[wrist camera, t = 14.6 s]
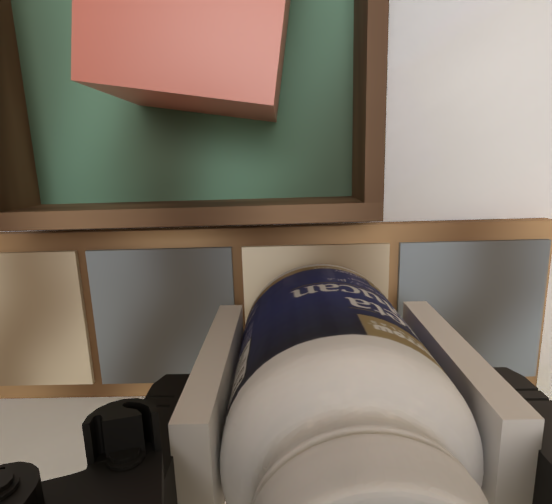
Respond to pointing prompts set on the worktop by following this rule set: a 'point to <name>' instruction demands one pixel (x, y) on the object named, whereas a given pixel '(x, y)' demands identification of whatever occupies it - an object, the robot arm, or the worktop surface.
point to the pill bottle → (343, 403)
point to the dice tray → (194, 133)
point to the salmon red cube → (183, 53)
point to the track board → (246, 292)
